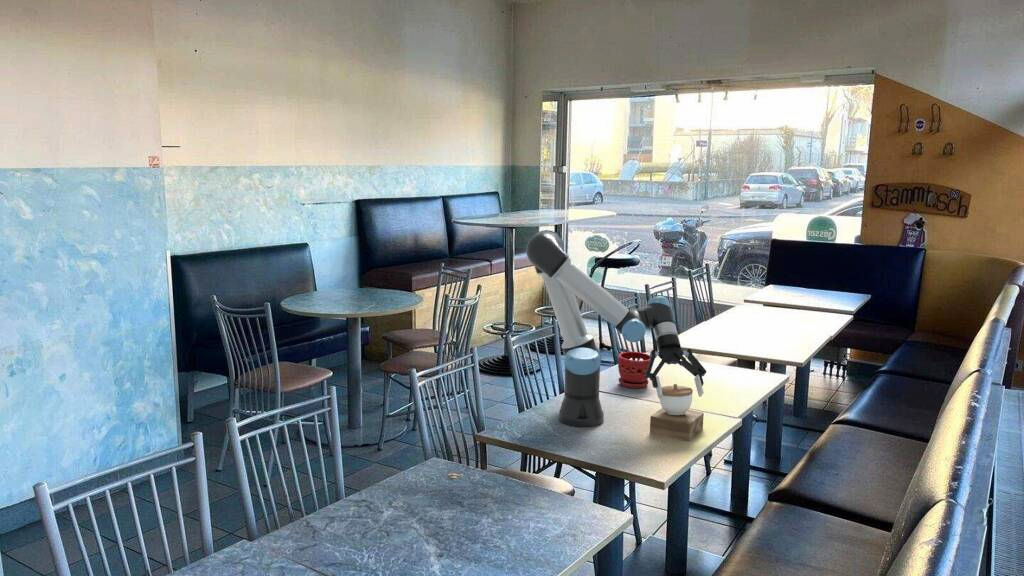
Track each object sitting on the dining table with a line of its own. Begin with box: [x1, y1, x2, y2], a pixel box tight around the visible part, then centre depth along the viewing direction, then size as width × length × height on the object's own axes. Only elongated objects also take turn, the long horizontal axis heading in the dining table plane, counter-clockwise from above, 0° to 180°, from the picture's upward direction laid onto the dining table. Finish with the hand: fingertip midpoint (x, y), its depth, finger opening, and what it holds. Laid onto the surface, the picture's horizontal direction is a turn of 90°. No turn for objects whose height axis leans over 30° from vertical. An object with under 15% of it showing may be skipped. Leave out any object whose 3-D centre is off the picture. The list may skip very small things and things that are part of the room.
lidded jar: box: [658, 383, 694, 415], centre depth 236 cm, size 11×11×9 cm
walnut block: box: [649, 407, 705, 442], centre depth 236 cm, size 13×13×6 cm
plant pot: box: [617, 351, 650, 389], centre depth 285 cm, size 13×13×12 cm
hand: (681, 395), depth 233 cm, fingers open, 13 cm apart
